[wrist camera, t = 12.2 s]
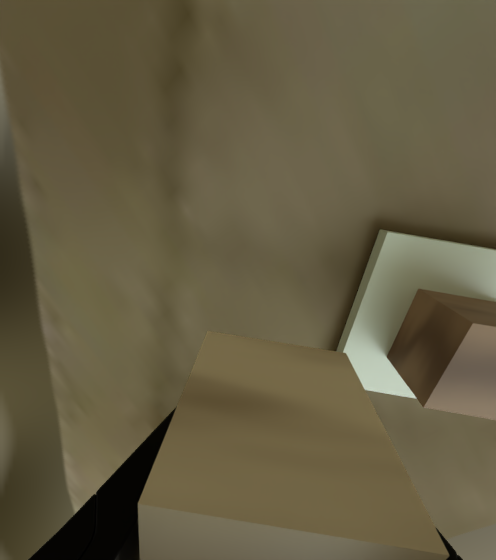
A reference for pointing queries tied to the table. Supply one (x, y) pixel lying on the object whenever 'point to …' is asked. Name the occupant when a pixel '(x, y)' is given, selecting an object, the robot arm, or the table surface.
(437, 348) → the walnut block
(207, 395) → the maple block
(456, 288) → the plate
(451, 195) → the table surface
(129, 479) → the robot arm
